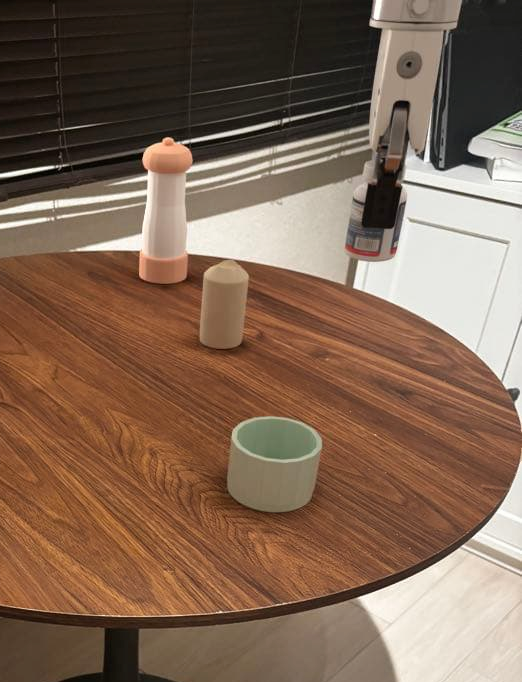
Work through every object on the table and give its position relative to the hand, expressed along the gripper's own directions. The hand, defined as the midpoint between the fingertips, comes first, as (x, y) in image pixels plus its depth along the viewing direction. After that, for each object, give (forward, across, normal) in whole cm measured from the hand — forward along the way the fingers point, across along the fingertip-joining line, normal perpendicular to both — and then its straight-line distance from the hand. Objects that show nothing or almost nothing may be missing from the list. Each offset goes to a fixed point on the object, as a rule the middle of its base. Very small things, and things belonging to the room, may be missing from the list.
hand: (376, 216), depth 83 cm
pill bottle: (+4, 0, 0) cm, 4 cm away
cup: (+19, -23, +7) cm, 31 cm away
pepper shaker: (+19, +31, +27) cm, 46 cm away
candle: (+19, +10, +16) cm, 27 cm away
